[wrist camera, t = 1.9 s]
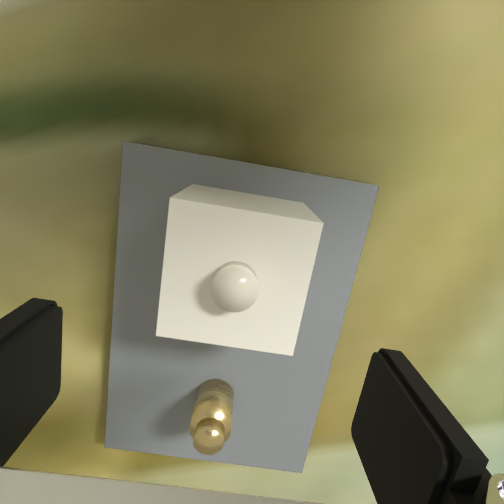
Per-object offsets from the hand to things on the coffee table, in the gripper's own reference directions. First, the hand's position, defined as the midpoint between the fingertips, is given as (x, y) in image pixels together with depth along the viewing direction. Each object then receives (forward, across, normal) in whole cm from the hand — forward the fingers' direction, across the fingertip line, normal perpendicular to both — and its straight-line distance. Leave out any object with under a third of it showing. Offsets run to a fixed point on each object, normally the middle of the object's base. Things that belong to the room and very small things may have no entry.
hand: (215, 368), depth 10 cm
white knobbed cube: (+12, 0, -1) cm, 12 cm away
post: (+12, 0, +10) cm, 16 cm away
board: (+13, 0, +5) cm, 14 cm away
